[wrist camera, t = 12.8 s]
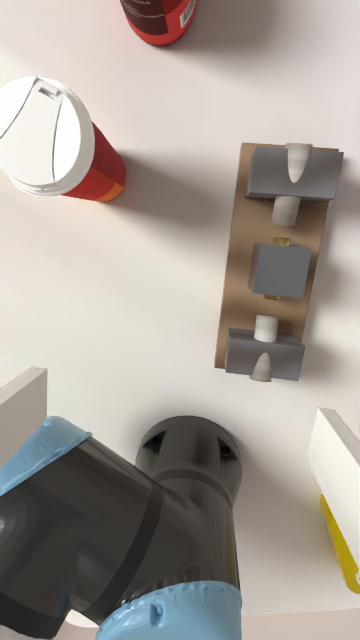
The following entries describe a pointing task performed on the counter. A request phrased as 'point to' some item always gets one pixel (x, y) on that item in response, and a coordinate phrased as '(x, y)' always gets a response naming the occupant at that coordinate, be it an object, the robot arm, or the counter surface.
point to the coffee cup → (55, 143)
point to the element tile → (341, 550)
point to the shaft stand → (260, 227)
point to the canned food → (159, 19)
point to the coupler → (279, 269)
